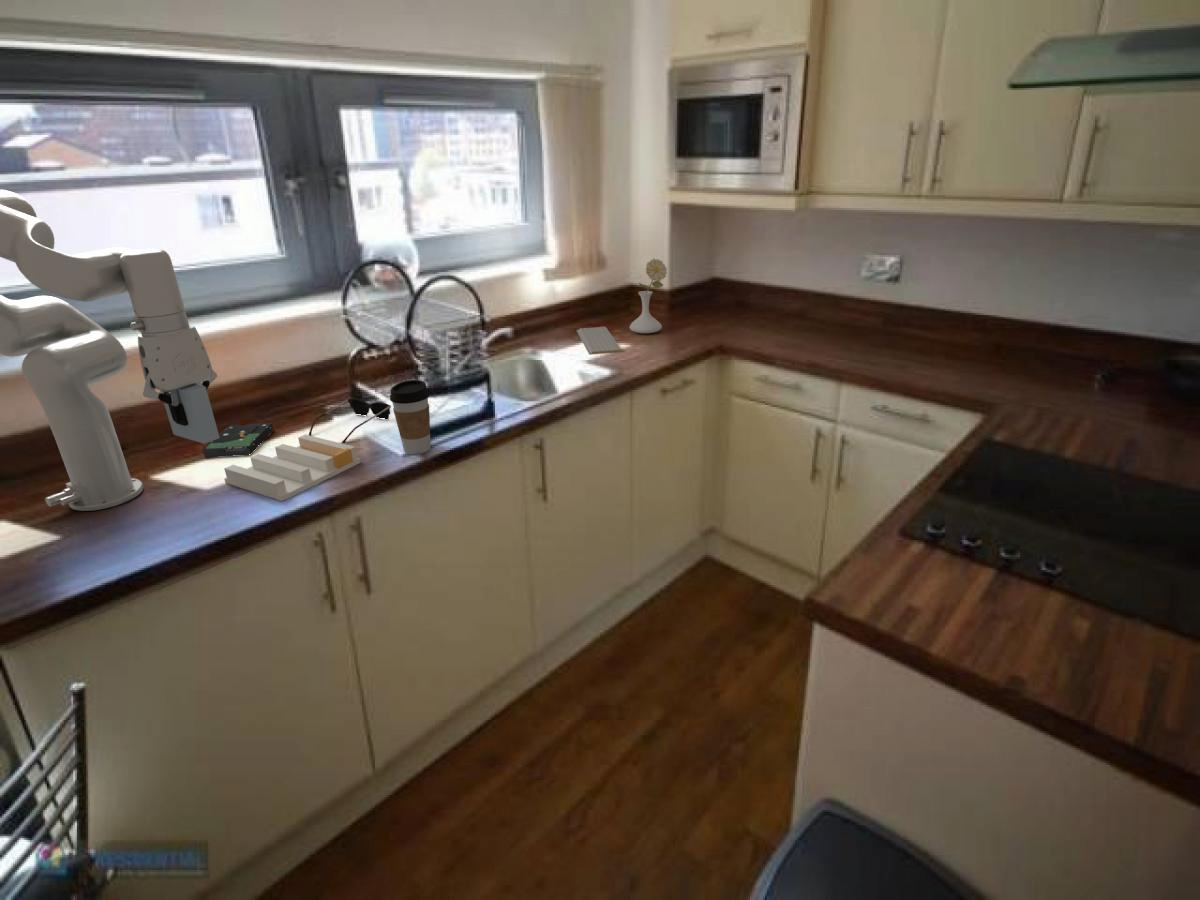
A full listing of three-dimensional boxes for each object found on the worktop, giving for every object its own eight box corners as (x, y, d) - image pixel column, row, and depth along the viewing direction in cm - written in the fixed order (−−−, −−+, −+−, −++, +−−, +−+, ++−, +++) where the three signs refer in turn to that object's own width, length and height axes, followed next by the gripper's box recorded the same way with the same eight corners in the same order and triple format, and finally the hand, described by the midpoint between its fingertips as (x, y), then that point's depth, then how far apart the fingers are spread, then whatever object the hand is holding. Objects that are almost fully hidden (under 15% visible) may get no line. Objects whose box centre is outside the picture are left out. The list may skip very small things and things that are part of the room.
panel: (204, 443, 129) (189, 391, 125) (173, 434, 133) (158, 384, 129) (219, 437, 131) (205, 386, 127) (188, 429, 136) (174, 379, 132)
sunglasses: (394, 422, 176) (390, 403, 174) (348, 450, 163) (343, 430, 161) (352, 414, 182) (348, 396, 179) (304, 441, 169) (299, 422, 167)
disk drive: (231, 435, 172) (204, 459, 158) (228, 424, 171) (201, 448, 157) (275, 432, 173) (251, 457, 159) (272, 422, 171) (248, 445, 158)
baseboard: (584, 356, 224) (621, 354, 226) (584, 347, 223) (621, 345, 225) (572, 332, 252) (605, 330, 254) (572, 324, 251) (605, 322, 253)
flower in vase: (631, 336, 242) (630, 262, 232) (627, 328, 253) (626, 257, 243) (669, 334, 243) (669, 260, 233) (663, 326, 254) (664, 255, 244)
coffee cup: (443, 443, 161) (435, 380, 155) (424, 458, 154) (414, 393, 148) (411, 440, 164) (401, 378, 158) (390, 454, 157) (380, 390, 150)
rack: (282, 501, 137) (277, 482, 136) (225, 482, 146) (220, 465, 144) (361, 462, 153) (358, 445, 152) (305, 447, 162) (302, 431, 160)
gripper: (126, 336, 115) (159, 439, 123) (220, 314, 128) (244, 409, 135) (102, 331, 119) (135, 432, 126) (196, 311, 132) (221, 404, 139)
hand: (191, 420), depth 131 cm, fingers closed on panel, 3 cm apart
